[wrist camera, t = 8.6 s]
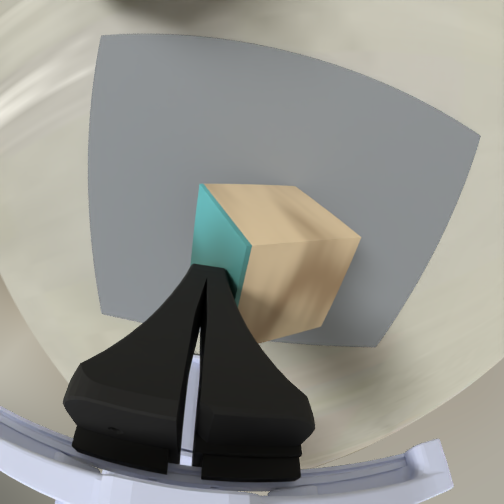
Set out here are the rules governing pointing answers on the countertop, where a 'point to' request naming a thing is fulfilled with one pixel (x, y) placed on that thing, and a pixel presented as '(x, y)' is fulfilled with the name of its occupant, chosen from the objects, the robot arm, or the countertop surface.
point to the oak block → (273, 253)
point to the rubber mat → (263, 167)
